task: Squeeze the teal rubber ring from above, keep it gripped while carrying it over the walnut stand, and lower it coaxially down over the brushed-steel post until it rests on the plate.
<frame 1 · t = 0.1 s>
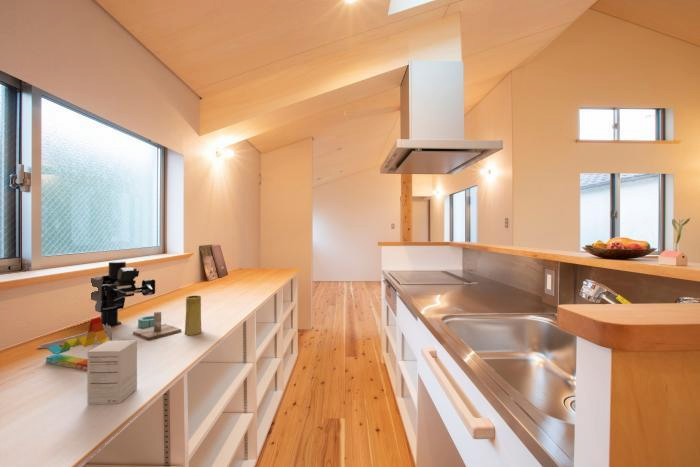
hand: (139, 292, 120), 17 cm above the worktop, tool horizontal, fingers open, 9 cm apart
caliper: (75, 344, 112), on the worktop
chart: (87, 369, 93), on the worktop
vase: (193, 333, 125), on the worktop
supplement box: (113, 397, 78), on the worktop
post stand: (157, 332, 124), on the worktop
ring: (149, 325, 134), on the worktop
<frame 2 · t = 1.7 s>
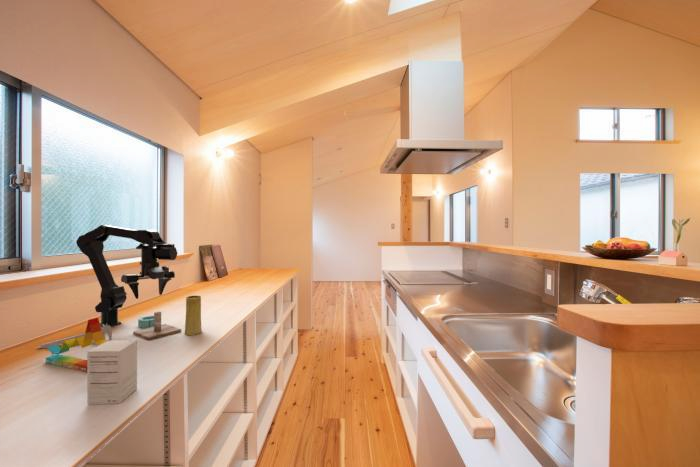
hand: (149, 296, 134), 12 cm above the worktop, tool pointing down, fingers open, 9 cm apart
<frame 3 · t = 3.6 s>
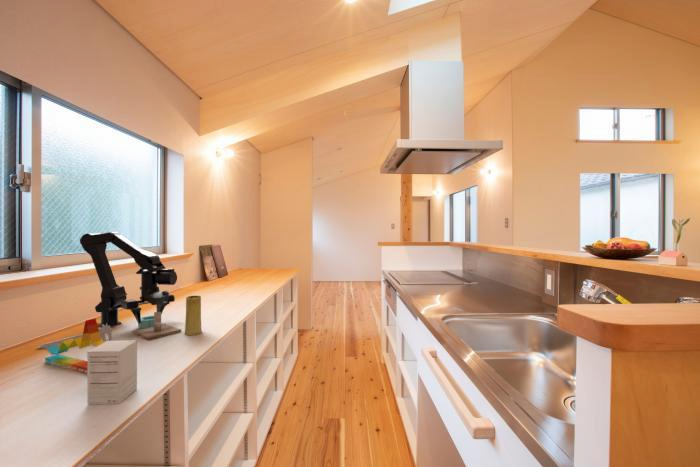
hand: (149, 321, 134), 2 cm above the worktop, tool pointing down, fingers closed on ring, 7 cm apart
ring: (149, 325, 134), on the worktop, touching gripper
when the fingers open (4 cm above the worktop, at t = 9.5 s): ring drops 2 cm, resting on post stand.
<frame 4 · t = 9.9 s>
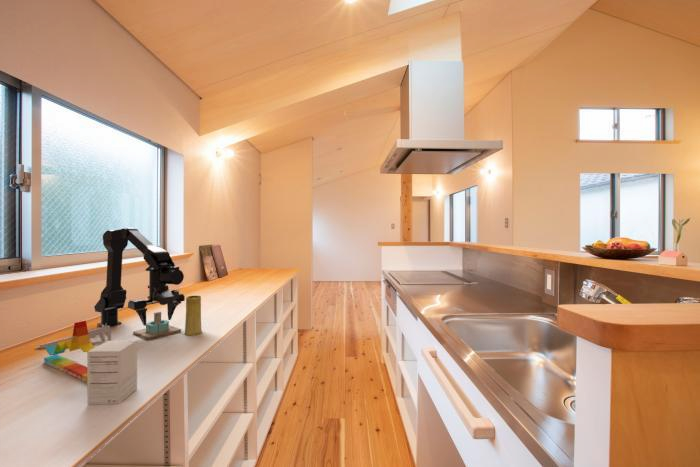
hand: (157, 322, 124), 4 cm above the worktop, tool pointing down, fingers open, 9 cm apart
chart: (74, 374, 90), on the worktop
ring: (157, 330, 124), point 1 cm above the worktop, touching post stand
everything else where it was.
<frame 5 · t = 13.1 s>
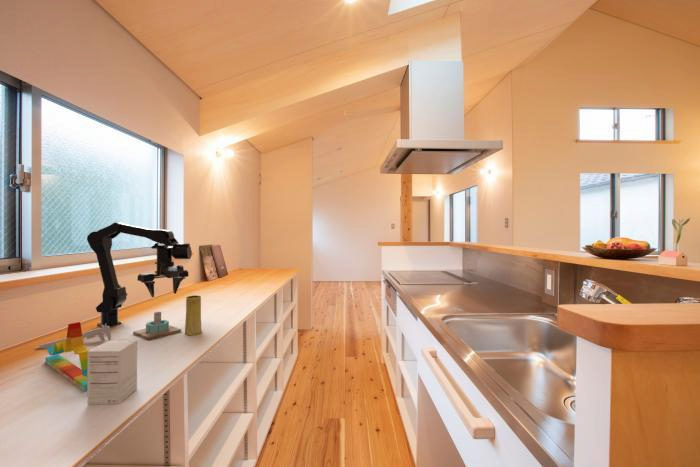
hand: (164, 295, 137), 12 cm above the worktop, tool pointing down, fingers open, 9 cm apart
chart: (69, 375, 89), on the worktop
everything else where it was.
at the end: ring 0.0 cm from the post stand (horizontally); ring point 1.0 cm above the worktop; the gripper is holding nothing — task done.
